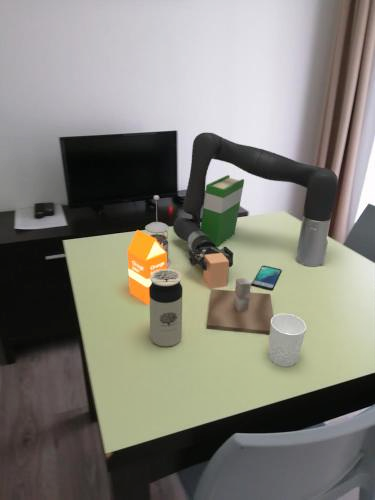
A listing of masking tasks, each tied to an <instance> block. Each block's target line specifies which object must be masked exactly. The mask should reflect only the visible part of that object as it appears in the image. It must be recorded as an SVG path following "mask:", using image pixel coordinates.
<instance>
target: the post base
mask: <svg viewBox="0 0 375 500" xmlns="http://www.w3.org/2000/svg"><path fill="white" fill-rule="evenodd" d="M251 284H252V282H251V281H250V280H249V279H248V278H247V277H242V278H236V280H235V287H234V288H235V290H227V289H217V288H211V290H210V295H209V296H210V297H209V304H208V312H207V318H206V319H207V321H206V329H208V330H209V329H210V330H218V331H227V332H228V331H229V332H236V333H237V332H239V333H249V334H256V335H257V334H259V335H270V324H271V319H272V317H273V316H274V309H273V303H272V297H271V296H272V295H271V293H263V292H262V293H261V292H253V291H251V286H252V285H251Z"/></svg>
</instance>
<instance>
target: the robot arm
mask: <svg viewBox="0 0 375 500" xmlns="http://www.w3.org/2000/svg"><path fill="white" fill-rule="evenodd" d="M191 150H192V151H191V162H190V172H189V177H188V183H187V186H186V191H185V196H184V200H183V204H182V211H183V212H184V213H186V214H189V215H191V218H187V217H178V218H176V219H175V220H174V222H173V225H172V229H173V232H174V234H175V235H176V236H177V237H178V238H179V239H182V240H183V241H185V242H186V243H187V244H188V246H189V248H190V250H188V251H187V252H188V253H187V254H188V255H187V259H188V261H189V262H190V264H191V265H192V266H196V265H197V266H199V267H200V270H202V271H203V272H204V271H205V270H207V264H206V263H205V261H204V255H208V254H216V253H222V254H223V255H224V256H225V257H226V258H227V259H228V260H229V268H231V267H233V265H234V252H232V250H231V249H229V248H228V247H227V246H223V247H222V248H221V249H220V248H219V247H217V248H216V246H215V244H214V242H213V241H212V240H211V239H210V238H209V237H208V236H207V235H206V234H205V233H204V232H203V231H202V230H201V212H202V206H203V204H204V200H205V192H206V185H207V183H206V180H207V174H208V171H209V170H208V169H209V167H210V165H211V162H212V160H216V161H221V162H224V163H228V164H231V165H233V166H235V167H236V168H238V169H241V170H242V171H244V172H245V173H248V174H250V175H253V176H255V177H257V178H260V179H264V180H268V181H275V182H286V183H290V184H291V183H292V184H295V185H298V186H300V187H303V188H305V189H306V193H305V198H304V199H305V201H304V206H303V214H302V220H301V225H300V231H299V237H298V242H297V247H296V253H295V261H296V262H298V263H299V264H301V265H303V266H307V267H318V266H324V263H325V257H326V252H327V248H328V247H327V246H328V242H329V241H328V235H329V230H330V225H331V220H332V215H333V212H334V206H335V202H336V197H337V193H338V185H339V179H338V175H337V174H336V173H335V172H334V171H333V170H331V169H330V168H326V167H321V166H315V165H311V164H306V163H302V162H299V161H297V160H293V159H291V158H289V157H286V156H283V155H281V154H278V153H275V152H272V151H269V150H266V149H262V148H259V147H254V146H252V145H251V146H250V145H246V144H239V143H236V142H233V141H231V140H229V139H227V138H224V137H222V136H220V135H218V134H216V133H215V132H201V133H199V134H197V135H196V136H195V138H194V139H193V143H192V149H191Z"/></svg>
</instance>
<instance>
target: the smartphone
mask: <svg viewBox="0 0 375 500" xmlns="http://www.w3.org/2000/svg"><path fill="white" fill-rule="evenodd" d="M282 272H283V270H282V269H280V268H277V267H273V266H269V265H268V266H267V265H261V267H260V268H259V270H258V272H257V274H256V276H255V277H254V278H253V281H252V282H251V286H252V287H254V288H258V289H262V290H265V291H266V290H267V291H270V292H272V291H274V289H275V287H276V285H277V282H278V281H279V279H280V276H281V274H282Z"/></svg>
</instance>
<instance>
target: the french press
mask: <svg viewBox="0 0 375 500" xmlns="http://www.w3.org/2000/svg"><path fill="white" fill-rule="evenodd" d="M153 200H155V209H156V212H155V213H156V214H155V216H156V218H155V219H156V221H153V222H151V223H149V224H147V225H145V227H144V229H145V231H147V232H148V233H150V234H149V236H152V237H154V238H156V240H157V241H158V243H159V244H160V245H161V247H162V248H163V249H164V250H165V252H167V268H169V267H171V265H172V261H171V260H170V259H169V241H168V237H169V235H168V230H169V227H170V226H169V225H167V224H166V223H163V222H161V221H158V204H157V203H158V201H157V200H160V196H159V195H157V194H156V195H153ZM165 232H166V235H165V234H164V233H165ZM151 233H152V234H151Z"/></svg>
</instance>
